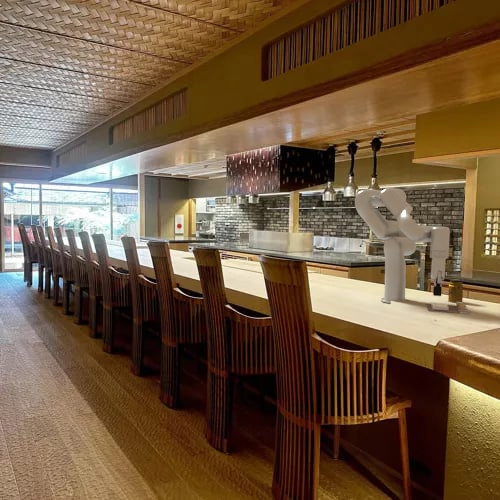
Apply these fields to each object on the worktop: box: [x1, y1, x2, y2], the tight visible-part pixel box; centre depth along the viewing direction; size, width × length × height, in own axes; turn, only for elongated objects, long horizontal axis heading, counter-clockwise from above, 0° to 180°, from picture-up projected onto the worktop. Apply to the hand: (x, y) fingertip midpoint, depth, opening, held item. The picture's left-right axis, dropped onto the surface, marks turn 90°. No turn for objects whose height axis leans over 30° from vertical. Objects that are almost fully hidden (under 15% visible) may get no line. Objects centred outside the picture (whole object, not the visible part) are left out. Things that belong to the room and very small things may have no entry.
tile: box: [430, 302, 448, 311], centre depth 186 cm, size 2×6×7 cm
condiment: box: [447, 278, 464, 304], centre depth 204 cm, size 7×8×12 cm
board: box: [424, 303, 468, 315], centre depth 187 cm, size 18×16×2 cm
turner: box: [455, 301, 472, 315], centre depth 185 cm, size 17×4×2 cm, turn 163°
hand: (437, 295), depth 193 cm, fingers closed
